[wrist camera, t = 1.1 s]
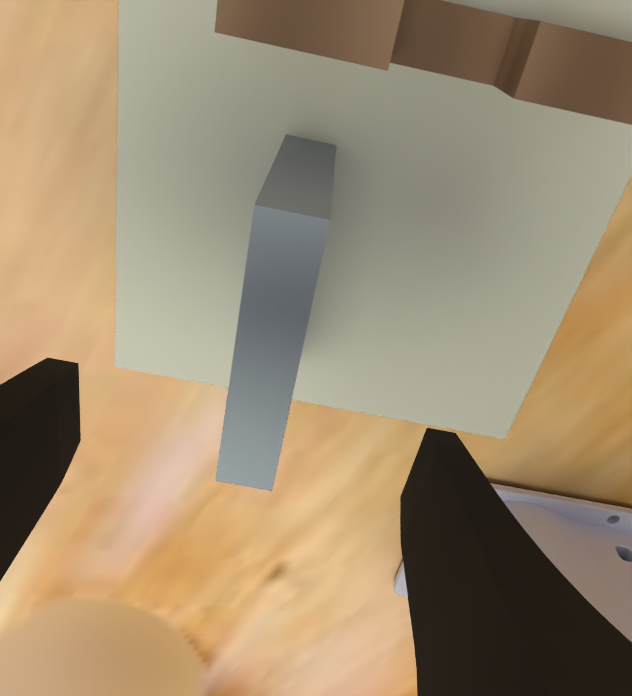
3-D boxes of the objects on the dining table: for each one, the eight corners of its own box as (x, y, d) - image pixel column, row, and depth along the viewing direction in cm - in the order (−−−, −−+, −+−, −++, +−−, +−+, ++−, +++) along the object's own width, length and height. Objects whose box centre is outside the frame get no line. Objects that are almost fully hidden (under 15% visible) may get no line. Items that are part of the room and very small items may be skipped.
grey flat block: (336, 145, 18) (329, 220, 12) (292, 357, 22) (272, 491, 16) (285, 134, 18) (254, 204, 12) (251, 349, 22) (215, 480, 16)
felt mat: (783, -154, 14) (790, -156, 14) (503, 434, 24) (504, 439, 24) (127, -321, 13) (122, -327, 13) (117, 362, 23) (114, 366, 23)
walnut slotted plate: (637, 46, 16) (714, 60, 13) (611, 106, 17) (677, 134, 14) (249, -43, 16) (222, -53, 12) (242, 24, 16) (214, 32, 13)
